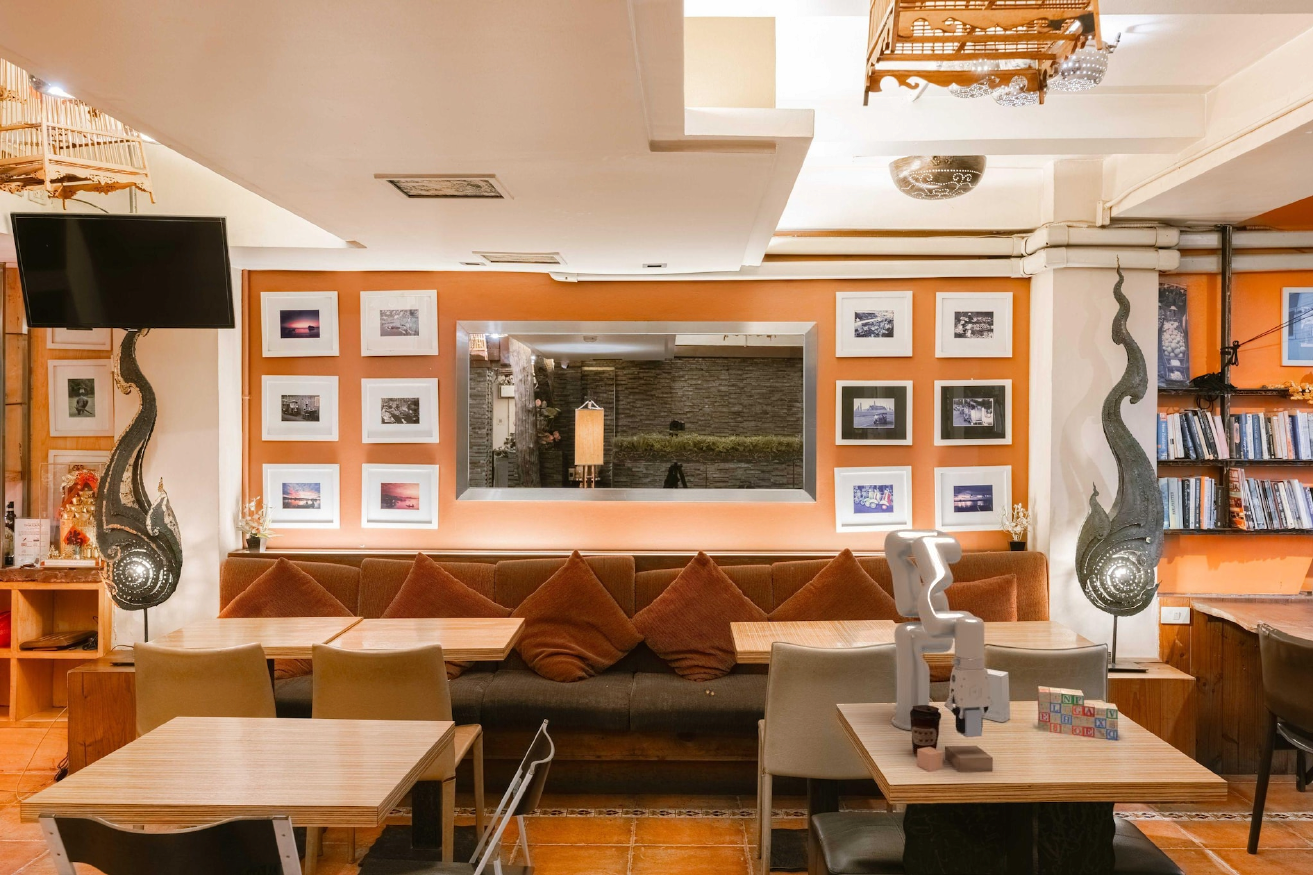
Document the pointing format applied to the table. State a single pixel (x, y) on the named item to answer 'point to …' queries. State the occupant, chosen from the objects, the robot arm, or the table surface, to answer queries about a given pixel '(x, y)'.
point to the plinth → (968, 759)
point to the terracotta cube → (929, 758)
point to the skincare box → (999, 696)
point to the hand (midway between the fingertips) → (969, 730)
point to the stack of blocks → (1075, 714)
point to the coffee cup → (924, 726)
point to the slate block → (972, 722)
